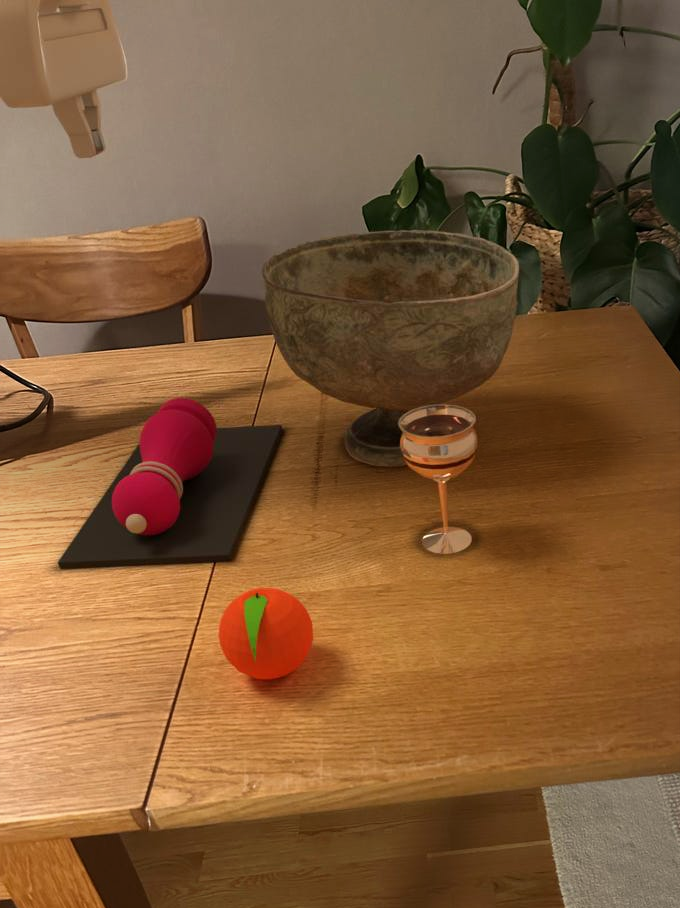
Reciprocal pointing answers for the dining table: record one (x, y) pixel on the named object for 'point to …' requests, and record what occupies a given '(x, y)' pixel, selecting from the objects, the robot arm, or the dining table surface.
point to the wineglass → (440, 460)
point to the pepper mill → (165, 466)
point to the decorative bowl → (392, 323)
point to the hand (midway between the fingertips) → (91, 155)
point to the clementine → (266, 633)
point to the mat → (185, 509)
